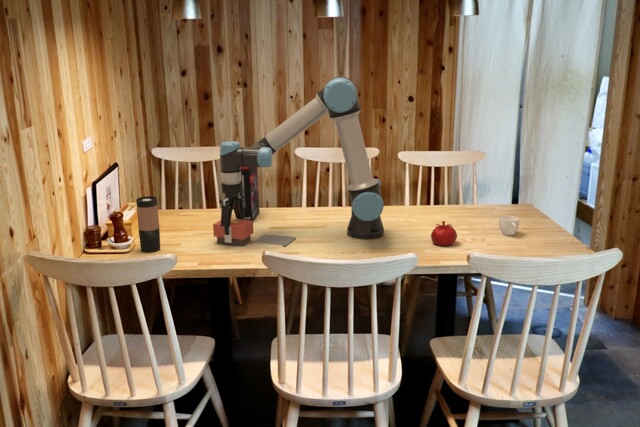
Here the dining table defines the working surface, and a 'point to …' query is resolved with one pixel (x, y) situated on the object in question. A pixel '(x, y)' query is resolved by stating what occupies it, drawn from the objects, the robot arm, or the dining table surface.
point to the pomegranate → (443, 235)
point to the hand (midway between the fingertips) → (233, 238)
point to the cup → (508, 225)
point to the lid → (235, 229)
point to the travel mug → (148, 224)
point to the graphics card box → (250, 192)
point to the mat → (275, 239)
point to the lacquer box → (234, 241)
